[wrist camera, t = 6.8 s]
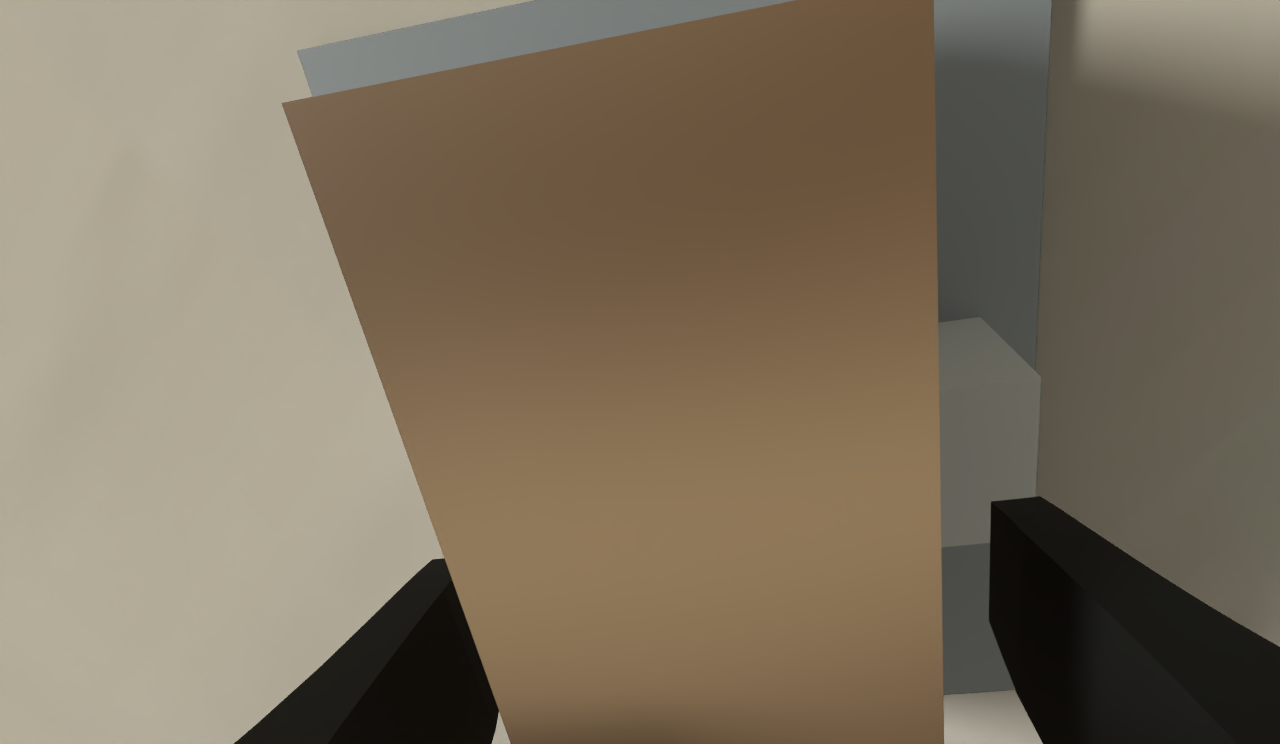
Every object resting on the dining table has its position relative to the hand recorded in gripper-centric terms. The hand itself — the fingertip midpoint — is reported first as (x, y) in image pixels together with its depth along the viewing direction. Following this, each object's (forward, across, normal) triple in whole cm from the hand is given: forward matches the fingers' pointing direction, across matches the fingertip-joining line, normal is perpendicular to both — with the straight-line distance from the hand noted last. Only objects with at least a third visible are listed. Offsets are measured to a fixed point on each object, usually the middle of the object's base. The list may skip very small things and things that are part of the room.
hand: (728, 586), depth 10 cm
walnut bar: (+2, 0, 0) cm, 2 cm away
